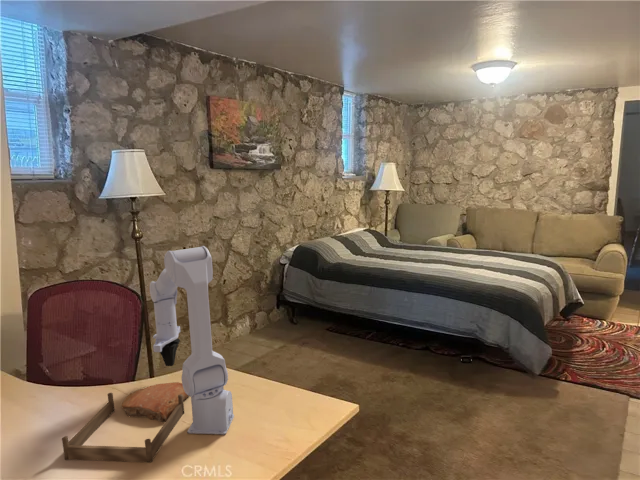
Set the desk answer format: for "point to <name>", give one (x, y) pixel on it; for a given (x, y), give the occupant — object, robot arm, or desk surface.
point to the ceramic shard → (154, 401)
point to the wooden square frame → (114, 453)
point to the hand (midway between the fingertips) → (169, 364)
